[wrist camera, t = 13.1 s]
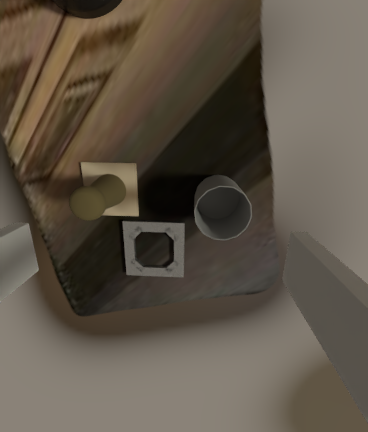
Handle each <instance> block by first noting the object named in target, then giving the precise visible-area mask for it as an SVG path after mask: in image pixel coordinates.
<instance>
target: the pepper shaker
mask: <svg viewBox="0 0 368 432" xmlns="http://www.w3.org/2000/svg"><path fill="white" fill-rule="evenodd" d="M125 196H126V187H125V184H124V182H123V181H122V180H121V179H120V178H119V177H118V176H116V175H113V174H104V175H102V176H100V177H99V178H98V179H96V180H95V181H94V182H93V183H92V184H91V185H89V186H82V187H79V188H78V189H76V190H75V191H74V192H73V193H72V194H71V196H70V199H69V206H70V209H71V211H72V212H73V214H74V215H75V216H77V217H78V218H80V219H82V220H86V221H90V220H95V219H97V218H99V217H100V216H101V215H102V214H103V213H104V212H105V210H106V209H108V208H111V207H113V206H115V205H118V204H120V203H121V202H122V201H123V200H124V199H125Z"/></svg>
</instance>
